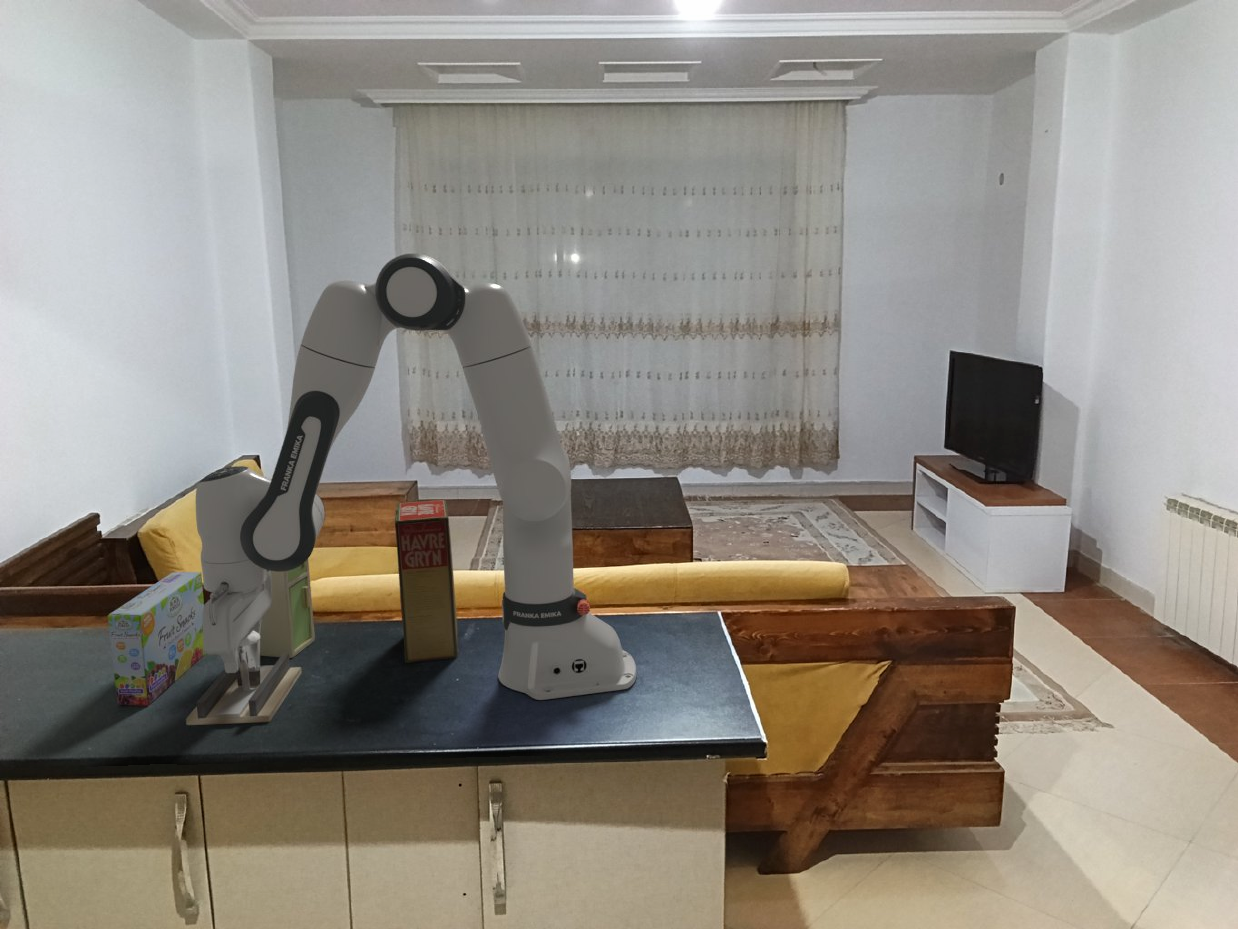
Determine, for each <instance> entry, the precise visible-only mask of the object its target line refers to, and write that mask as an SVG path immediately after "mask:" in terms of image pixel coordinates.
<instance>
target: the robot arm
mask: <svg viewBox="0 0 1238 929" xmlns="http://www.w3.org/2000/svg"><path fill="white" fill-rule="evenodd" d="M401 328H402V329H405V330H409V331H416V332H418V331H420V332H421V331H444V332H446V333H447V335H448V336H449V337H450V339H451V340H452V342H453V345H454V346H455V349H456V352H457V355H458V357H459V358H458V359H459V362H460V365H461V366H462V370H463V371H462V372H463V373H464V377H465V380H466V383H467V386H468V388H469V392H470V395H471V399H472V400H473V404H474V407H475V411H476V414H477V416H478V420H479V423H480V428H481V432H482V435H483V440H484V444H485V448H486V452H487V455H488V459H489V462H490V466H491V470H492V473H493V477H494V480H495V484H496V487H497V490H498V493H499V497H500V499H501V501H502V549H503V550H502V553H503V554H502V555H503V556H502V557H503V558H502V559H503V574H504V576H503V577H504V592H503V593H502V594H503V595H502V600H501V612H502V615H501V616H502V624H503V628H504V640H503V641H504V644H503V650H502V659H501V663H500V668H499V671H498V674H497V675H498V677H497V678H498V680H499V682H500V683H501V684H502V685H503V686H505V687H507V688H509V689H510V690H512V691H513V690H514V691H517V692H520V693H524V694H526V695H527V696H529V697H531V698H532V699H535V700H536V701H537V700H538V701H544V700H551V699H559V698H567V697H573V696H574V697H575V696H583V695H589V694H598V693H605V692H612V691H613V692H614V691H621V690H627V689H629V688H630V687H632V686H633V685H634V683H635V681H636V678H637V666H636V663H635V662H636V661H635V659H634V658H633V656H632V655H631V654H630V653H629V652H628V651H626V650H624V649H623V647H622V645H621V644H622V643H621V640H620V638H619V636H618V634H617V632H616V630H615V629H614V628H613V626H611V625H609V624H608V623H606V622H605V621H603V620H602V619H600V618H598V617H597V616H595V615H594V614H592V613H591V612H590V610H591V604H590V602H589V601H588V598H587V594H585V591H584V589H583V588H580V590H579V589H577V588H575V587H574V586H575V585H574V581H575V580H574V553H573V552H574V550H573V549H574V545H573V526H572V525H573V522H572V520H573V518H572V517H573V516H572V496H571V495H572V494H571V493H572V492H571V491H572V477H571V476H572V473H571V463H570V458H569V455H568V452H567V451H566V449H565V447H564V446H563V445H562V443H561V439H560V436H559V432H558V429H557V426H556V422H555V418H554V414H553V411H552V407H551V404H550V400H549V396H548V393H547V389H546V386H545V383H544V381H543V376H542V374H541V371H540V368H539V365H538V361H537V358H536V355H535V352H534V349H533V346H532V343H531V342H532V341H531V340H530V337H529V334H528V331H527V328H526V326H525V323H524V321H523V318H522V316H521V314H520V313H519V311H518V308H517V306H516V304H515V302H514V301H513V298H512V297H511V295H510V293H509V292H508V291H507V289H506V288H504V287H503V286H502V285H500V284H497V283H493V282H477V283H473V284H469V285H468V284H466V285H463V284H462V283H460V282H459V281H458V280H457V279H456V278H455V277H453V276H452V274H451V273H450V272H449V270H448V268H446V267H445V266H444V264H442V263H441V262H440V261H439V260H437V258H436V259H435V258H433V257H432V256H430V255H427V254H426V255H425V254H420V253H404V254H401V255H398V256H396V257H393V258H392V259H390V260H389V261H388V262H387V263H385V265H384V266H383V267H382V268H381V269H380V272H379V273H378V276H377V278H376V281H375V283H372V284H367V283H361V282H359V281H355V280H339V281H338V280H337V281H334V282H332V283H330V284H329V285H327V286H326V287H325V288H324V289H323V291H322V293H321V294H320V297H319V298H318V300H317V302H316V304H315V306H314V308H313V310H312V312H311V315H310V317H309V320H308V322H307V325H306V327H305V330H304V333H303V336H302V339H301V342H300V346H299V350H298V352H297V356H296V357H297V358H296V361H295V362H296V363H295V366H294V372H293V373H294V374H293V378H292V389H291V398H290V399H291V400H290V405H289V406H290V408H289V415H288V422H287V427H286V432H285V436H284V439H283V442H282V446H281V449H280V452H279V455H278V458H277V462H276V464H275V467H274V470H273V474H272V476H271V477H272V478H270V477H266V476H263V475H262V474H260V473H257V472H256V471H254V470H253V469H252V468H250V467H247V466H243V465H241V466H238V465H236V466H230V467H225V468H221V469H218V470H216V471H213V472H210V473H208V474H207V475H205V476H204V477H203V478H202V479H201V480H200V481H199V482H198V483H197V485H196V490H195V517H196V518H195V519H196V529H197V533H198V536H199V537H200V540H201V551H200V563H201V574H202V584H203V588H204V590H205V591H207V592H210V595H209V598H210V599H208V600H207V602H205V603H204V608H203V614H202V625H203V643H204V649H205V651H206V655H209V656H210V655H215V656H217V655H219V657H220V659H221V661H222V662H223V664H224V665H223V666H224V670H225V672H226V673H236V672H237V671H238V669H239V668H240V659H239V658H237V656H236V653H235V651H236V650H237V648H236V646H237V645H238V644H239V642H240V641H241V640H242V639H243V638H244V637H245V635H246V634H247V633H248V632H249V631H250V630H254V631H255V632H257V633H259V634H260V630H261V623H262V618H261V617H262V616H263V615H264V614H265V613H266V611H267V610H268V609H269V608H270V606H271V600H272V582H271V572H270V571H276V572H282V571H289V570H292V569H295V568H297V567H299V566H300V565H302V564H303V563H304V562H305V561H306V560H307V559H308V560H309V558H310V557H311V555H312V553H313V551H314V548H315V544H316V540H317V539H318V536H319V534H320V532H321V529H322V528H323V525H324V523H325V520H326V509H325V505H324V502H323V500H322V498H321V497H320V495H319V494H318V493H317V492H318V488H319V485H320V482H321V479H322V475H323V472H324V469H325V466H326V462H327V459H328V456H329V454H330V452H331V449H332V447H333V445H334V442H336V440H337V437H338V436H339V435H340V433H341V432H342V430H343V429H344V427H345V425H346V424H347V423H348V421H349V420H350V419H351V417H353V415H354V413H355V412H356V410H358V407H359V406H360V404H361V402H362V401H363V399H364V397H365V395H366V392H367V391H368V389H369V386H370V383H371V381H372V378H373V376H374V373H375V370H376V366H377V363H378V360H379V356H380V352H381V350H382V348H383V344H384V342H385V340H386V338H387V336H389V334H390V333H392V331H394V330H396V329H401Z"/></svg>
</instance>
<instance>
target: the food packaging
mask: <svg viewBox="0 0 1238 929" xmlns="http://www.w3.org/2000/svg"><path fill="white" fill-rule="evenodd" d="M394 517H395V518H394V527H395V536H396V550H397V551H396V552H397V565H398V566H397V567H398V568H397V569H398V582H399V583H398V584H399V599H400V600H399V601H400V611H401V612H400V613H401V614H400V615H401V624H402V630H403V631H402V632H403V644H404V645H403V647H404V661H405V663H417V662H425V661H437V660H446V659H454V658H457V657H458V656H459V654H458V653H459V651H458V619H457V618H458V617H457V602H456V593H455V581H454V580H455V579H454V578H455V577H454V568H453V567H454V565H453V555H452V554H453V553H452V541H451V528H450V519H449V510H448V505H447V500H445V499H434V500H432V499H431V500H423V501H422V500H421V501H408V502H399V503H397V504H396V508H395V516H394Z"/></svg>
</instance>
